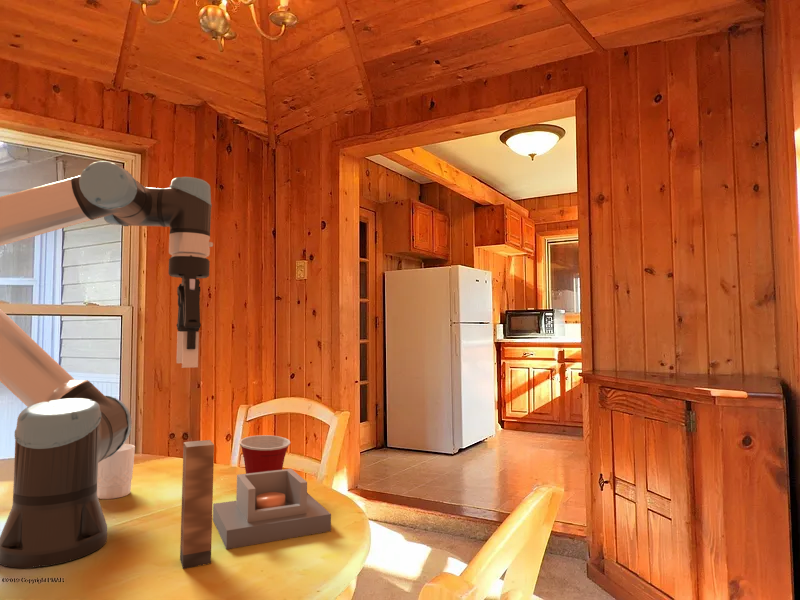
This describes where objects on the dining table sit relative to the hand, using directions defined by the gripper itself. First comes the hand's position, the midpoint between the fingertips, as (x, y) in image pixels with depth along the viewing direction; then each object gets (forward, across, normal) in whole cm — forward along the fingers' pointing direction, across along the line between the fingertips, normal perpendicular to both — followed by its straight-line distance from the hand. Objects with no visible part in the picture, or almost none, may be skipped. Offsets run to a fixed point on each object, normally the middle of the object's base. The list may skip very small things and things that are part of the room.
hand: (186, 365), depth 105 cm
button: (+26, -13, -14) cm, 32 cm away
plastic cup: (+29, +6, -17) cm, 34 cm away
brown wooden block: (+29, -23, 0) cm, 37 cm away
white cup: (+29, +20, +12) cm, 37 cm away
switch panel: (+29, -12, -14) cm, 34 cm away
